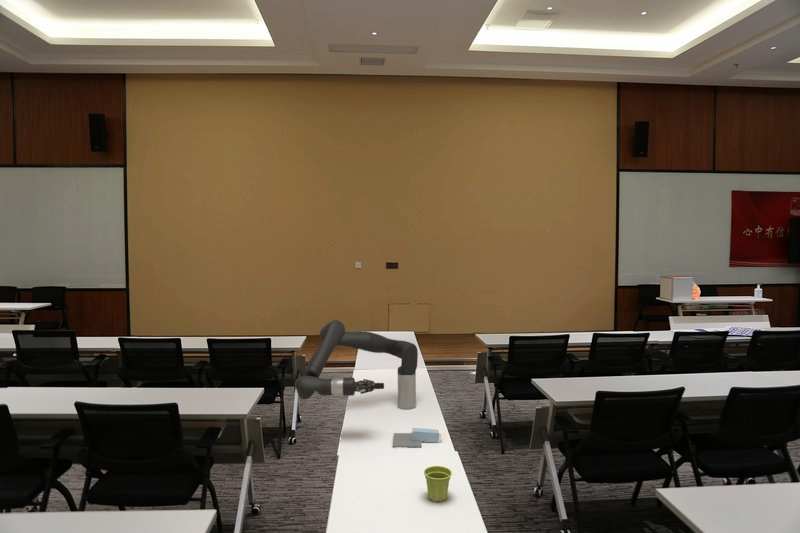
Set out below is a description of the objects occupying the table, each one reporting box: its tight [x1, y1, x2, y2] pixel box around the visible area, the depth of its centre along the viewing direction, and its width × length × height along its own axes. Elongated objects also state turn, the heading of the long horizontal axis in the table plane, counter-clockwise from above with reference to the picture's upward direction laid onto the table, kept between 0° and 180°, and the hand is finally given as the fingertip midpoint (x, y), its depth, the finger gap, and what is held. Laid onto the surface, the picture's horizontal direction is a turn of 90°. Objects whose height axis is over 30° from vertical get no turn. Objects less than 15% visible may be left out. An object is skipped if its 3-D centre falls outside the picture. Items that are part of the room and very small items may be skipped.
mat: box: [392, 432, 423, 449], centre depth 218 cm, size 14×12×1 cm
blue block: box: [411, 427, 442, 444], centre depth 217 cm, size 4×4×12 cm
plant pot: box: [423, 465, 453, 502], centre depth 170 cm, size 9×9×9 cm
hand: (383, 385), depth 216 cm, fingers closed
